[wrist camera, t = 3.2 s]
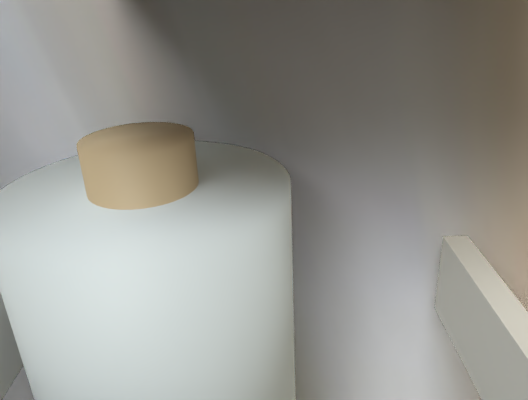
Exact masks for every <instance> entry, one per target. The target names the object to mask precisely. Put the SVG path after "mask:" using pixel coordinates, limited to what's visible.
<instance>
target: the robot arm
mask: <svg viewBox="0 0 528 400" xmlns="http://www.w3.org/2000/svg"><path fill="white" fill-rule="evenodd" d="M434 308H435V310H436V312H437V314H438V316H439V318H440V320H441V322H442V324H443V326H444V328H445V330H446V331H447V333H448V335H449V337H450V339H451V341H452V343H453V345H454V347H455V349H456V351H457V353H458V355H459V357H460V359H461V361H462V363H463V364H464V366H465V368H466V370H467V372H468V374H469V376H470V378H471V380H472V382H473V384H474V386H475V388H476V390H477V392H478V394H479V396H480V397H481V399H482V400H528V312H527V311H526V309H525V308H524V307H523V305H522V304H521V303H520V302H519V300H518V299H517V298H516V297H515V295H514V294H513V293H512V291H511V290H510V289H509V288H508V286H507V285H506V284H505V283H504V281H503V280H502V279H501V277H500V276H499V275H498V274H497V272H496V271H495V270H494V269H493V267H492V266H491V265H490V264H489V262H488V261H487V260H486V258H485V257H484V256H483V255H482V253H481V252H480V251H479V250H478V248H477V247H476V246H475V244H474V243H473V242H472V241H471V239H470V238H469V237H468V236H467V235H461V236H443V240H442V248H441V256H440V264H439V272H438V280H437V289H436V297H435V305H434ZM22 367H23V362H22V359H21V356H20V352H19V349H18V346H17V343H16V340H15V337H14V333H13V330H12V327H11V324H10V321H9V318H8V314H7V311H6V308H5V305H4V302H3V299H2V295H1V292H0V400H2V399H3V398H4V396H5V394H6V393H7V391H8V390H9V388H10V386H11V385H12V383H13V381H14V380H15V378H16V377H17V375H18V373H19V372H20V370H21V368H22Z"/></svg>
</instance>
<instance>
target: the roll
mask: <svg viewBox="0 0 528 400" xmlns="http://www.w3.org/2000/svg"><path fill="white" fill-rule="evenodd" d="M77 151H78V155H77V156H74V157H71V158H67V159H64V160H61V161H58V162H55V163H52V164H49V165H47V166H44V167H42V168H39V169H37V170H35V171H32V172H30V173H28V174H26V175H24V176H22V177H20V178H19V179H17V180H15V181H13V182H12V183H10V184H8V185H7V186H6V187H4V188H3V189H1V190H0V292H1V295H2V299H3V302H4V305H5V308H6V311H7V314H8V318H9V321H10V324H11V327H12V330H13V333H14V337H15V340H16V343H17V346H18V349H19V352H20V356H21V359H22V362H23V365H24V368H25V371H26V375H27V378H28V381H29V384H30V387H31V390H32V394H33V397H34V400H296V397H295V349H294V301H293V253H292V204H291V179H290V176H289V173H288V172H287V170H286V169H285V167H284V166H283V165H282V164H281V163H279V162H278V161H277V160H275V159H274V158H272V157H270V156H268V155H266V154H264V153H262V152H259V151H256V150H253V149H249V148H245V147H241V146H237V145H231V144H225V143H216V142H204V141H194V132H193V130H192V129H191V128H189V127H187V126H185V125H181V124H176V123H168V122H143V123H132V124H125V125H119V126H114V127H110V128H106V129H102V130H99V131H96V132H93V133H91V134H89V135H86V136H85V137H83V138H82V139H80V140H79V141H78V143H77Z"/></svg>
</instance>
